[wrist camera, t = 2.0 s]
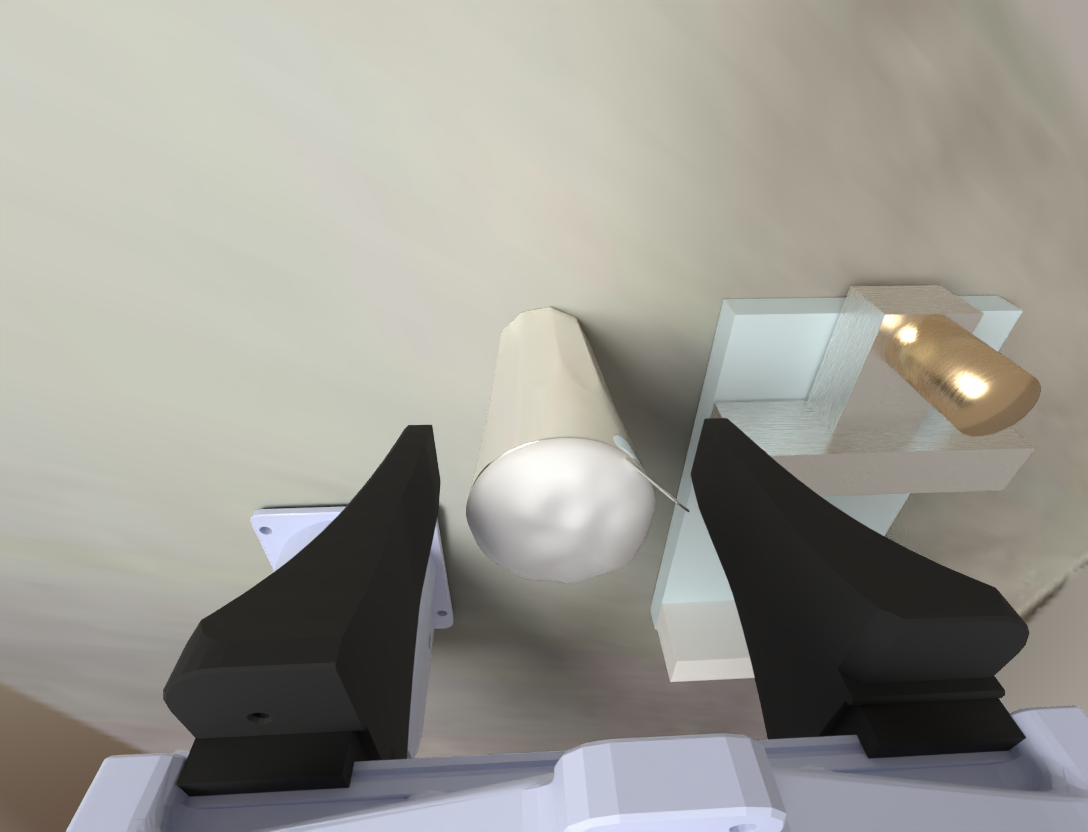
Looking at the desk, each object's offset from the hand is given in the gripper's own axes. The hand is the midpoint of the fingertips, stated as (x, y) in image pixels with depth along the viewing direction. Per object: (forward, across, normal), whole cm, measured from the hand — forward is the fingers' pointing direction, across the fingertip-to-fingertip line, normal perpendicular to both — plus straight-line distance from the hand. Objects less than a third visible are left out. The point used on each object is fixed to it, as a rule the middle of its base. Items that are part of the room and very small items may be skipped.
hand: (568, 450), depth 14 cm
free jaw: (+5, -11, +1) cm, 12 cm away
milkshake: (+6, 0, 0) cm, 6 cm away
